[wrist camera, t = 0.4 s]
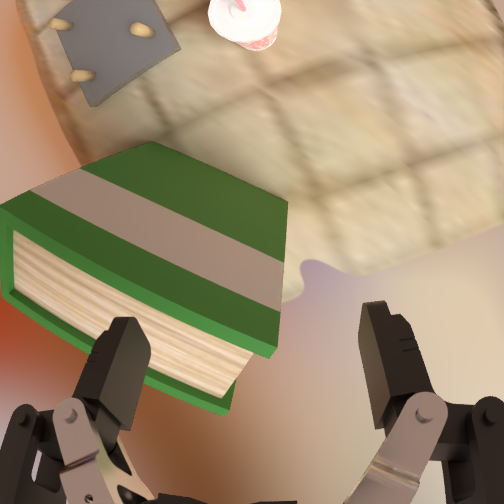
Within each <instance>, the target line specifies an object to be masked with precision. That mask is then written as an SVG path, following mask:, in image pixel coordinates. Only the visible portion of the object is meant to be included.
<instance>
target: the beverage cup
mask: <svg viewBox="0 0 504 504" xmlns="http://www.w3.org/2000/svg"><path fill="white" fill-rule="evenodd" d="M281 10H282V9H281V5H280V2H279V0H211V1H210V5H209V9H208V17H209V21H210V25H211V26H212V27H213V28H214V29H215V31H216V32H217V33H218V34H219V35H220V36H222V37H224V38H226V39H228V40H230V41H232V42H236V43H238V44H239V45H241V46H242V47H244V48H246V49H248V50H253V51H258V50H264V49H266V48H267V47H269V46H271V45H272V44H273V42H274V41H275V40H276V36H277V29H278V24H279V21H280V16H281Z"/></svg>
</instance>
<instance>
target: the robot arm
mask: <svg viewBox="0 0 504 504" xmlns="http://www.w3.org/2000/svg"><path fill="white" fill-rule="evenodd" d="M358 343H359V349H360V354H361V358H362V363H363V368H364V373H365V378H366V383H367V388H368V393H369V398H370V404H371V409H372V415H373V420H374V426H375V429H381V428H384V430H385V435H386V439H385V440H384V442H383V443H382V445H381V447H380V449H379V450H378V452H377V454H376V455H375V457H374V459H373V460H372V462H371V463H370V465H369V466H368V468H367V469H366V471H365V472H364V474H363V476H362V477H361V479H360V480H359V481H358V483H357V484H356V486H355V487H354V489H353V490H352V491H351V493H350V494H349V496H348V497H347V498H346V500H345V501H344V502H343V504H410V503H411V501H412V499H413V497H414V496H415V494H416V492H417V490H418V487H419V484H420V482H419V479H420V477H421V474H422V472H423V471H424V469H425V466H426V465H427V463H428V461H429V460H432V461H441V462H442V469H443V476H444V485H445V494H446V504H504V402H503V401H501V400H500V399H498V398H497V397H493V396H488V397H484V398H482V399H480V400H479V401H478V402H477V403H476V404H475V405H464V404H452V403H448V402H446V401H444V400H443V399H442V398H441V397H439V396H438V395H437V394H436V393H435V392H434V390H433V388H432V385H431V383H430V379H429V376H428V373H427V370H426V367H425V364H424V361H423V358H422V356H421V352H420V350H419V347H418V344H417V341H416V340H415V336H414V333H413V331H412V328H411V325H410V324H409V323H408V322H407V321H406V319H405V318H403V316H402V315H401V314H396V315H391V314H390V311H389V309H388V306H387V303H386V302H385V301H375V302H367V303H363V305H362V311H361V318H360V325H359V332H358ZM150 358H151V346H150V343H149V341H148V339H147V337H146V335H145V333H144V332H143V330H142V328H141V326H140V324H139V322H138V320H137V319H136V318H135V317H115V318H114V319H113V320H112V322H111V325H110V327H109V329H108V330H104V332H103V333H102V334H101V335H100V336H99V337H98V338H97V339H96V341H95V343H94V345H93V348H92V350H91V354H90V355H89V357H88V359H87V363H86V364H85V367H84V369H83V371H82V374H81V376H80V379H79V381H78V384H77V386H76V389H75V391H74V394H73V396H72V398H67V399H64V400H63V401H61V402H60V403H59V404H58V405H57V407H56V408H55V409H54V410H48V411H41V412H38V411H37V410H36V409H35V408H34V407H33V406H31V405H29V404H23V405H21V406H19V407H18V408H17V409H15V411H14V412H13V414H12V416H11V419H10V422H9V425H8V428H7V431H6V434H5V437H4V440H3V443H2V446H1V449H0V504H66V499H67V500H68V502H69V504H207V503H204V502H201V501H199V500H196V499H193V498H190V497H182V496H175V495H168V494H162V493H159V494H158V499H154V497H153V495H152V494H151V492H150V491H149V489H148V488H147V487H146V486H145V485H144V484H143V482H141V480H140V479H139V478H138V476H137V474H136V472H135V470H134V468H133V466H132V464H131V462H130V460H129V458H128V455H127V453H126V451H125V449H124V447H123V445H122V442H121V440H120V438H119V437H118V433H119V430H120V429H121V430H127V431H130V430H131V426H132V423H133V419H134V415H135V411H136V407H137V404H138V400H139V396H140V393H141V389H142V385H143V382H144V379H145V375H146V372H147V368H148V365H149V361H150ZM37 450H39V451H40V452H42V456H41V460H40V463H39V467H38V472H37V476H36V480H35V482H34V481H33V480H32V476H31V473H32V469H33V465H34V461H35V457H36V454H37ZM252 504H297V501H279V502H278V501H277V502H276V501H275V502H257V503H252Z"/></svg>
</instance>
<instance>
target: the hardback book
mask: <svg viewBox="0 0 504 504" xmlns="http://www.w3.org/2000/svg"><path fill="white" fill-rule="evenodd" d="M287 212H288V202H287V201H285V200H283V199H281V198H279V197H276V196H274V195H272V194H270V193H268V192H266V191H264V190H262V189H260V188H258V187H255V186H253V185H251V184H249V183H247V182H245V181H243V180H240V179H238V178H236V177H234V176H232V175H229V174H227V173H225V172H223V171H221V170H218V169H216V168H214V167H212V166H209V165H207V164H205V163H203V162H200V161H198V160H196V159H193V158H191V157H189V156H186V155H184V154H182V153H179V152H177V151H175V150H172V149H170V148H168V147H165V146H163V145H160V144H158V143H156V142H150V143H147V144H143V145H140V146H138V147H135V148H132V149H129V150H126V151H123V152H120V153H117V154H115V155H112V156H109V157H107V158H104V159H101V160H99V161H96V162H93V163H91V164H88V165H86V166H83V167H81V168H78V169H76V170H74V171H71V172H69V173H66V174H64V175H62V176H59V177H57V178H55V179H53V180H51V181H48V182H46V183H44V184H42V185H39V186H37V187H35V188H33V189H31V190H29V191H27V192H25V193H23V194H21V195H18V196H17V197H15V198H13V199H11V200H9V201H7V202H5V203H3V204H1V205H0V282H1V292H2V298H4V299H5V300H6V301H8V302H9V303H10V304H12V305H13V306H14V307H16V308H17V309H19V310H20V311H21V312H23V313H24V314H26V315H27V316H29V317H30V318H31V319H33V320H34V321H36V322H37V323H39V324H40V325H42V326H43V327H45V328H47V329H48V330H49V331H51V332H53V333H54V334H56V335H57V336H59V337H61V338H62V339H64V340H65V341H67V342H69V343H71V344H72V345H74V346H75V347H77V348H79V349H81V350H82V351H84V352H86V353H87V354H89V355H90V354H91V350H92V348H93V345H94V343H95V341H96V339H97V338H98V337H99V336H100V335H101V334H102V333H103V332H104V330H108V329H109V327H110V325H111V322H112V320H113V319H114V318H115V317H135V318H136V319H137V320H138V322H139V324H140V326H141V328H142V330H143V332H144V333H145V335H146V337H147V339H148V341H149V343H150V346H151V358H150V361H149V365H148V368H147V372H146V375H145V379H144V382H143V383H145V384H147V385H149V386H151V387H153V388H155V389H158V390H160V391H162V392H165V393H167V394H169V395H171V396H173V397H176V398H178V399H180V400H183V401H186V402H188V403H190V404H192V405H195V406H198V407H200V408H203V409H205V410H208V411H210V412H213V413H216V414H218V415H221V416H225V415H226V414H227V413H228V412H229V410H230V405H231V401H232V397H233V392H234V387H235V383H236V378H237V376H238V375H239V373H240V372H241V370H242V369H243V368H244V366H245V365H246V363H247V361H248V360H249V359H250V357H251V356H252V354H253V353H256V354H258V355H260V356H263V357H266V358H268V359H269V358H270V357H271V356H272V354H273V353H274V352H275V350H276V349H277V346H278V335H279V323H280V311H281V299H282V286H283V273H284V259H285V244H286V229H287Z"/></svg>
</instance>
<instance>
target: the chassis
mask: <svg viewBox="0 0 504 504" xmlns="http://www.w3.org/2000/svg"><path fill="white" fill-rule="evenodd" d="M49 28H51V29H56V30H57V33H58V35H59V38H60V40H61V42H62V45H63V47H64V50H65V52H66V54H67V57H68V59H69V61H70V64H71V66H72V68H73V70H74V71H72V73H71V75H70V79H71V81H79V84H80V86H81V88H82V90H83V92H84V95H85V97H86V99H87V101H88V103H89V105H90V107H96V106H98V105H99V104H101V103H102V102H103V101H104V100H106V99H107V98H108V97H110V96H111V95H112V94H114V93H115V92H116V91H118V90H119V89H121V88H122V87H123V86H125V85H126V84H128V83H129V82H131V81H132V80H133V79H135V78H136V77H138V76H139V75H141V74H142V73H144V72H145V71H147V70H148V69H150V68H152V67H153V66H155V65H156V64H158V63H159V62H161V61H163V60H164V59H166V58H168V57H169V56H171V55H173V54H174V53H176V52H178V51H179V50H181V48H180V46H179V44H178V42H177V40H176V38H175V36H174V35H173V33H172V31H171V29H170V27H169V25H168V24H167V22H166V20H165V18H164V16H163V15H162V13H161V11H160V9H159V7H158V5H157V4H156V2H155V0H73V1H72V2H71V3H69V4H68V5H67V6H66V7H65V8H64V9H63V10H62V11H60V12H59V13H58V14H57V15H56V16H55V17H54V18H53V19H52V20H51V21H50V22H49Z"/></svg>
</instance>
